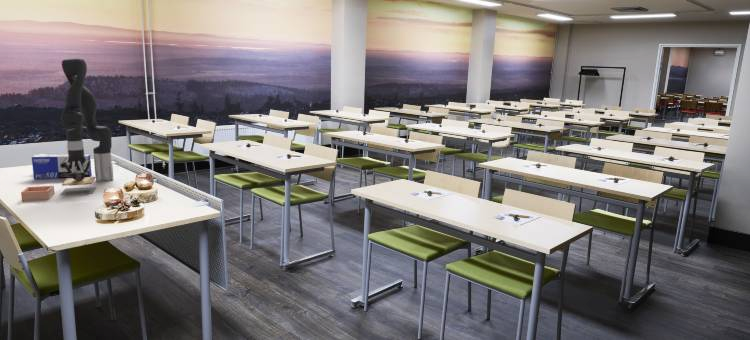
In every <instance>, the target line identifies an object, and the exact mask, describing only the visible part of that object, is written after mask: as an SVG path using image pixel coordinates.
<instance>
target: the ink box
mask: <svg viewBox="0 0 750 340" xmlns="http://www.w3.org/2000/svg"><path fill="white" fill-rule="evenodd" d="M84 157H85V159H86V160H88V161H91V154H85V153H84ZM68 159H69V157H68V154H49V155H38V154H35V155H32V156H31V164H32V173H33V174H32V175H33V180H59V179H60V180H61V179H62V180H66V179H67V178H72V173H71V172H68V171H67V170H66V168H65V166H64V165H63V163H64V162H66V161H68ZM68 166H69V168H70V169H71V170H72V165H71V164H70V163H68ZM86 166H87V164H86V162H85V163H84V164H83V167H84V169H86ZM75 172H81V169H80V167H75ZM92 174H93V173H92V163H90V166H89V169H88V171H86V172H85V177H93V176H92Z"/></svg>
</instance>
